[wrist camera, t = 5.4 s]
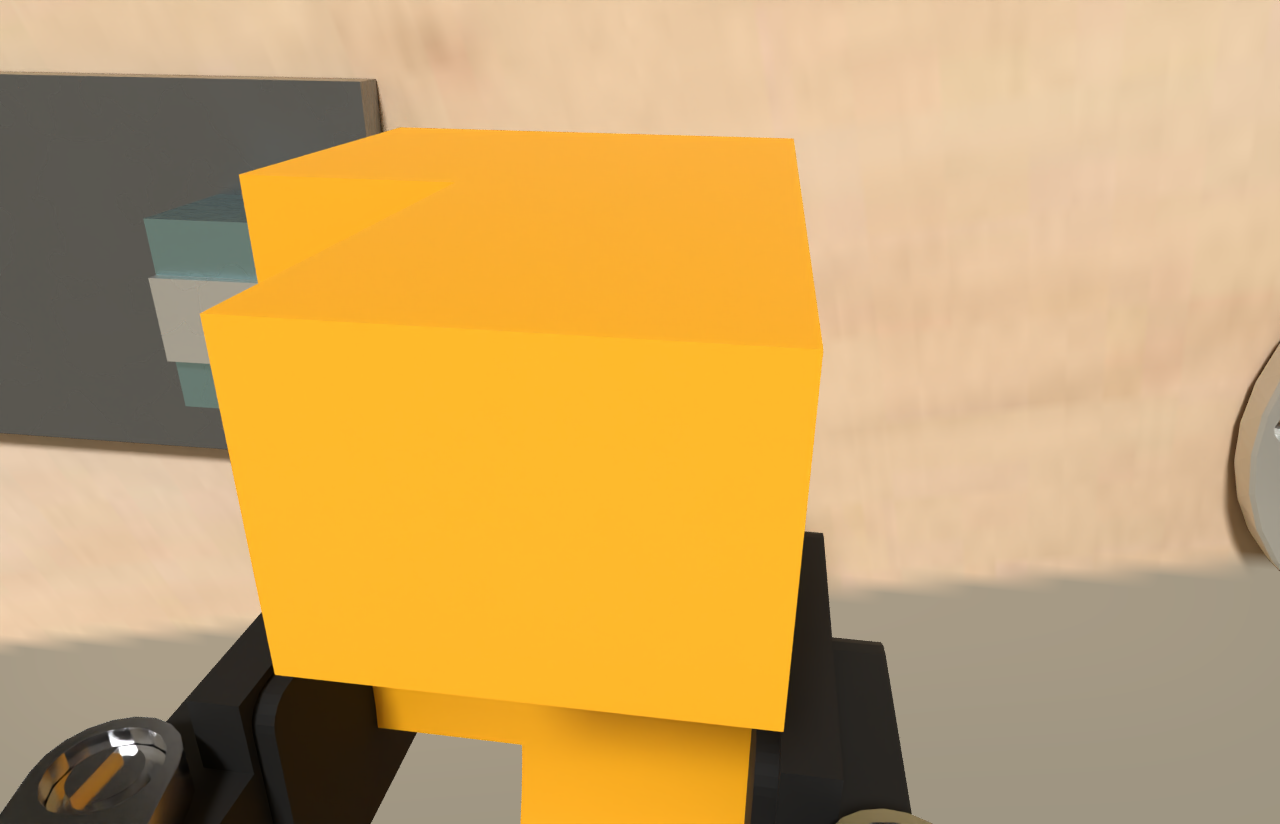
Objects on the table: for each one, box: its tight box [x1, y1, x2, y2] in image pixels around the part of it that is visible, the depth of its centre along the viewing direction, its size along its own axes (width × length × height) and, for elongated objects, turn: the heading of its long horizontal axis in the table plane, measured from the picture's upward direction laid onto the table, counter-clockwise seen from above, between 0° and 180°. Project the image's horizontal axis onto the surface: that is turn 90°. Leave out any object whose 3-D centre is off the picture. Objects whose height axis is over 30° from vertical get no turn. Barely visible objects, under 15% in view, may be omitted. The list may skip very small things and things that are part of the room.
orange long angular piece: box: [200, 127, 823, 824], centre depth 9 cm, size 12×4×6 cm, turn 0°
